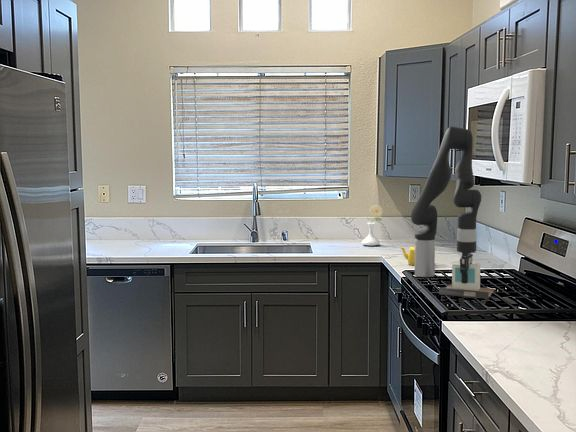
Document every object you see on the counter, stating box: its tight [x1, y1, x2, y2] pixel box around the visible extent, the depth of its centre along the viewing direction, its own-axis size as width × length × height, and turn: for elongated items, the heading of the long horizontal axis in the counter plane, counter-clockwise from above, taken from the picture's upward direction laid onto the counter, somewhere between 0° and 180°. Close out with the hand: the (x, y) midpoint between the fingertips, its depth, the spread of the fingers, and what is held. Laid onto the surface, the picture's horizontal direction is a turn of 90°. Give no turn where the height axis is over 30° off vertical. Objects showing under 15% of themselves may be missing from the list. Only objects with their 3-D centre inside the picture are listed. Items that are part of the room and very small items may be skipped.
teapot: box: [398, 246, 415, 267], centre depth 320 cm, size 15×14×10 cm
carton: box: [451, 261, 481, 291], centre depth 248 cm, size 5×10×10 cm, turn 64°
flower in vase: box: [361, 204, 384, 247], centre depth 379 cm, size 13×11×25 cm
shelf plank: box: [438, 284, 496, 300], centre depth 253 cm, size 18×19×4 cm
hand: (466, 281), depth 248 cm, fingers closed on carton, 5 cm apart
